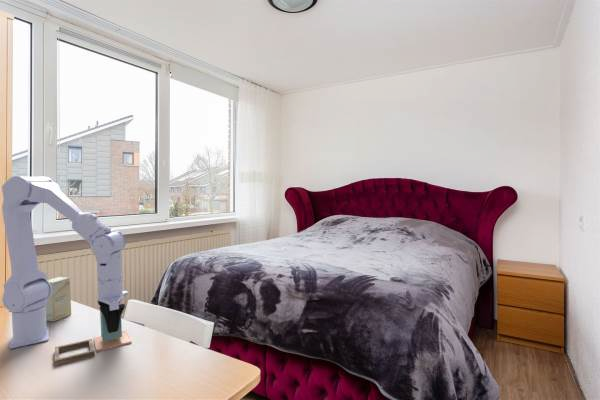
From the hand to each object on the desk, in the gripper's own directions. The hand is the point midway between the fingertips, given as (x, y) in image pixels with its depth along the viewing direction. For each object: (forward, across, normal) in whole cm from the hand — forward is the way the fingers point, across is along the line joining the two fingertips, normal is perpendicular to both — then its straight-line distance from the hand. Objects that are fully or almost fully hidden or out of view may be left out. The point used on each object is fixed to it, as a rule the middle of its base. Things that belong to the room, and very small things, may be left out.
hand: (111, 328), depth 92 cm
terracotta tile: (+4, 0, 0) cm, 4 cm away
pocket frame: (+4, -2, +8) cm, 9 cm away
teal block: (+2, 0, 0) cm, 2 cm away
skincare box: (+4, +28, +12) cm, 31 cm away
